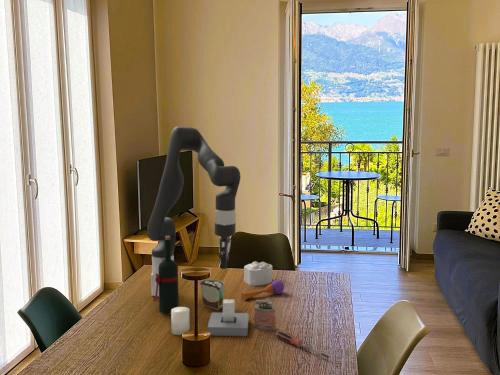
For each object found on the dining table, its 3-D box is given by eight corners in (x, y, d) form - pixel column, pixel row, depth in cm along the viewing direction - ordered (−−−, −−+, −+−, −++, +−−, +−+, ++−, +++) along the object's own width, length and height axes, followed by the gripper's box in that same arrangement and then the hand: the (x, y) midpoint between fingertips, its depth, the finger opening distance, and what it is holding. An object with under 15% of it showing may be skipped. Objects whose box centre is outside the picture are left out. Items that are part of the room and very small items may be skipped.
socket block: (207, 335, 188) (207, 327, 188) (211, 320, 202) (211, 312, 202) (247, 335, 188) (247, 327, 188) (248, 320, 202) (248, 313, 201)
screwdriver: (332, 360, 170) (332, 351, 169) (326, 363, 168) (326, 354, 167) (280, 335, 189) (280, 327, 188) (273, 337, 187) (273, 329, 186)
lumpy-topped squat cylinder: (241, 280, 252) (241, 262, 251) (266, 276, 258) (266, 259, 257) (252, 286, 243) (252, 268, 242) (276, 282, 249) (277, 264, 247)
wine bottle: (150, 309, 213) (148, 235, 209) (174, 305, 218) (173, 233, 214) (157, 316, 206) (155, 240, 202) (181, 311, 211) (180, 237, 207)
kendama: (238, 288, 227) (278, 278, 237) (240, 302, 227) (280, 291, 237) (245, 290, 222) (285, 279, 232) (247, 304, 222) (287, 293, 232)
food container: (231, 307, 216) (231, 283, 215) (220, 311, 212) (220, 286, 210) (211, 300, 225) (210, 276, 223) (200, 303, 220) (199, 280, 219)
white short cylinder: (170, 334, 189) (169, 313, 188) (173, 327, 195) (172, 306, 194) (188, 335, 188) (187, 313, 187) (190, 328, 195) (190, 307, 194)
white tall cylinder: (222, 329, 193) (222, 303, 192) (223, 325, 197) (223, 299, 196) (233, 330, 193) (233, 303, 192) (234, 325, 197) (234, 299, 196)
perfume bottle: (276, 327, 196) (276, 300, 195) (273, 330, 193) (274, 303, 191) (255, 324, 199) (255, 298, 197) (252, 327, 195) (252, 301, 194)
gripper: (216, 217, 200) (216, 259, 202) (212, 225, 186) (212, 270, 188) (236, 217, 199) (236, 260, 202) (234, 226, 185) (233, 271, 188)
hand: (224, 265), depth 195 cm, fingers open, 8 cm apart
